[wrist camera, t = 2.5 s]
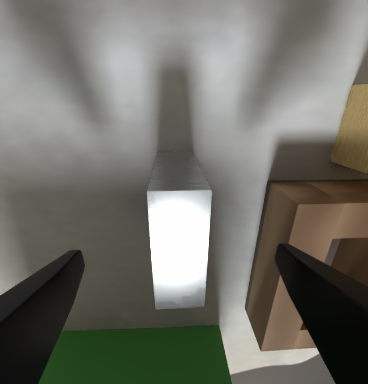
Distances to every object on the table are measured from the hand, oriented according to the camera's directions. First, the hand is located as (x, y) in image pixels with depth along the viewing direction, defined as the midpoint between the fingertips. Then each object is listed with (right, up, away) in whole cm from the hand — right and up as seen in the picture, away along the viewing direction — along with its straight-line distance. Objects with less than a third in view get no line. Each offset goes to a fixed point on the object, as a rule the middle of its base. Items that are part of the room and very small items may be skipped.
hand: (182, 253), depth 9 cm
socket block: (+11, -3, +9) cm, 15 cm away
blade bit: (-1, +3, +6) cm, 7 cm away
